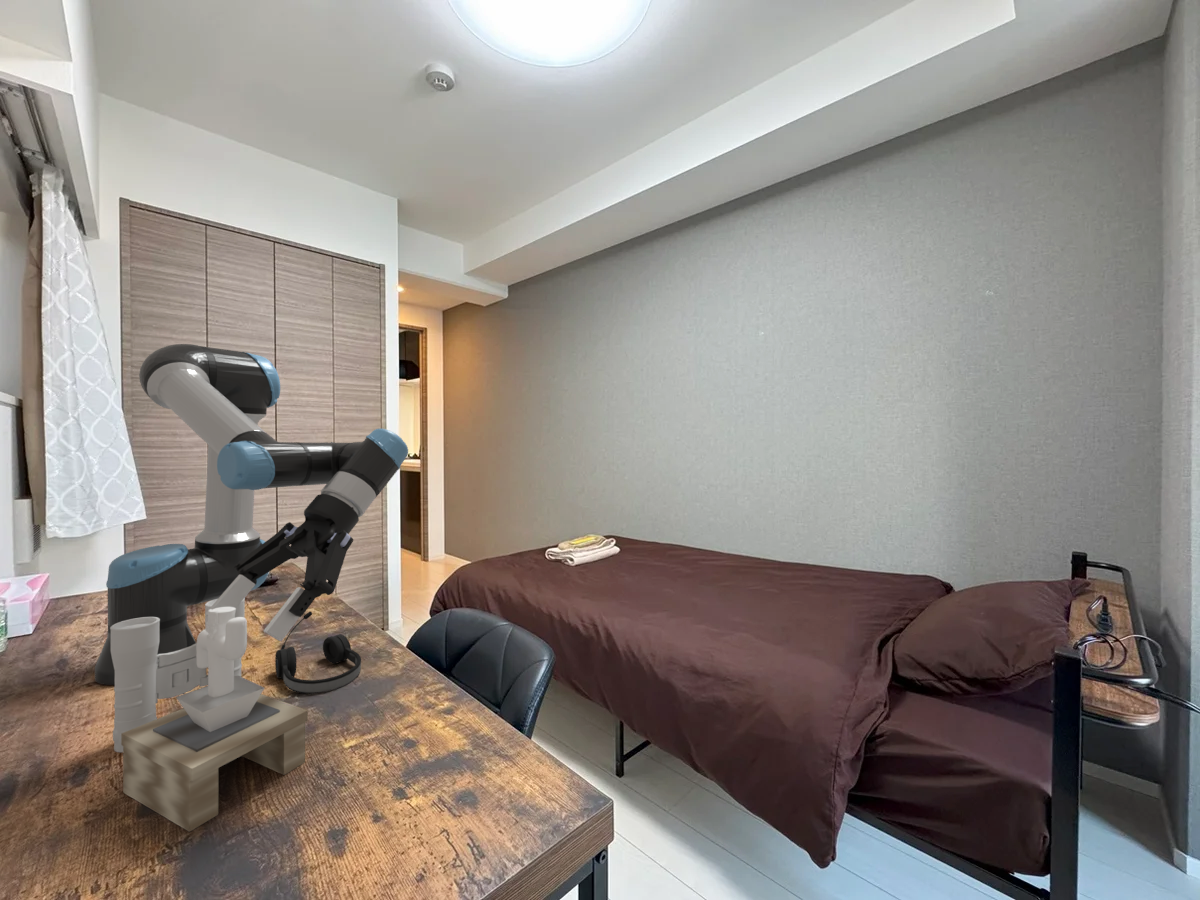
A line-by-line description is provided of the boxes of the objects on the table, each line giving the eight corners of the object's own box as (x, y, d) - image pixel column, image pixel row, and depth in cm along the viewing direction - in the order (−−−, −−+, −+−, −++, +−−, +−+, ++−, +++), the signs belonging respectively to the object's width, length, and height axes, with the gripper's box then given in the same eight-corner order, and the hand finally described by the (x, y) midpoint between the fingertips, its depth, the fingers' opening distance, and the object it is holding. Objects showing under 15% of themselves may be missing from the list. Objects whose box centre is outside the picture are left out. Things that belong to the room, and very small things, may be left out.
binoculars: (234, 695, 89) (234, 594, 88) (251, 703, 86) (251, 599, 86) (103, 747, 73) (103, 625, 73) (119, 758, 71) (119, 632, 71)
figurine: (233, 698, 72) (233, 595, 72) (269, 716, 68) (269, 606, 68) (171, 722, 66) (172, 609, 66) (206, 744, 62) (206, 623, 61)
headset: (335, 605, 108) (374, 639, 96) (333, 645, 109) (371, 685, 96) (266, 620, 99) (298, 660, 86) (264, 664, 100) (296, 711, 87)
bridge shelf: (121, 791, 64) (121, 731, 64) (238, 734, 77) (238, 684, 77) (191, 833, 57) (192, 766, 57) (307, 763, 70) (307, 708, 70)
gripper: (408, 526, 79) (319, 657, 66) (305, 514, 90) (212, 624, 77) (380, 496, 74) (279, 631, 61) (276, 487, 85) (170, 600, 72)
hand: (241, 627), depth 69 cm, fingers open, 13 cm apart
